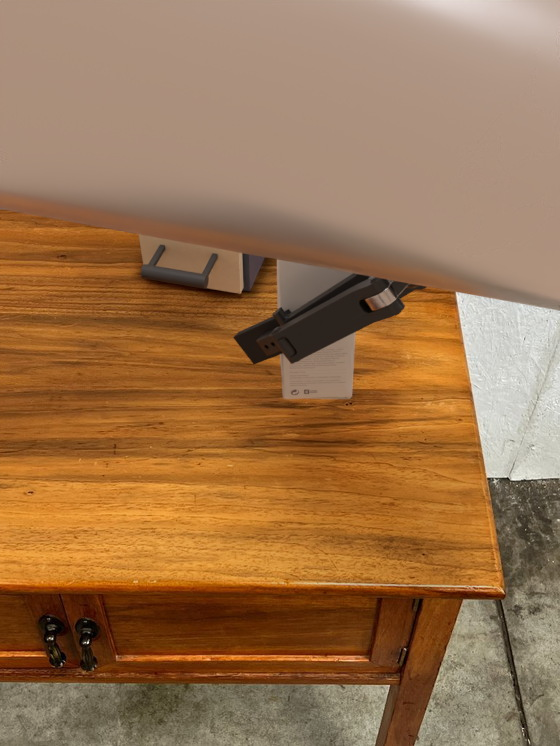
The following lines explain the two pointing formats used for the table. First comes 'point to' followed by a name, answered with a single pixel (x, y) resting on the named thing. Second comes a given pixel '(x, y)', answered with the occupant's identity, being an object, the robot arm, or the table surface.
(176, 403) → the table surface
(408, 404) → the table surface
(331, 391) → the cosmetic box
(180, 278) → the drawer
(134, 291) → the table surface
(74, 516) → the table surface
